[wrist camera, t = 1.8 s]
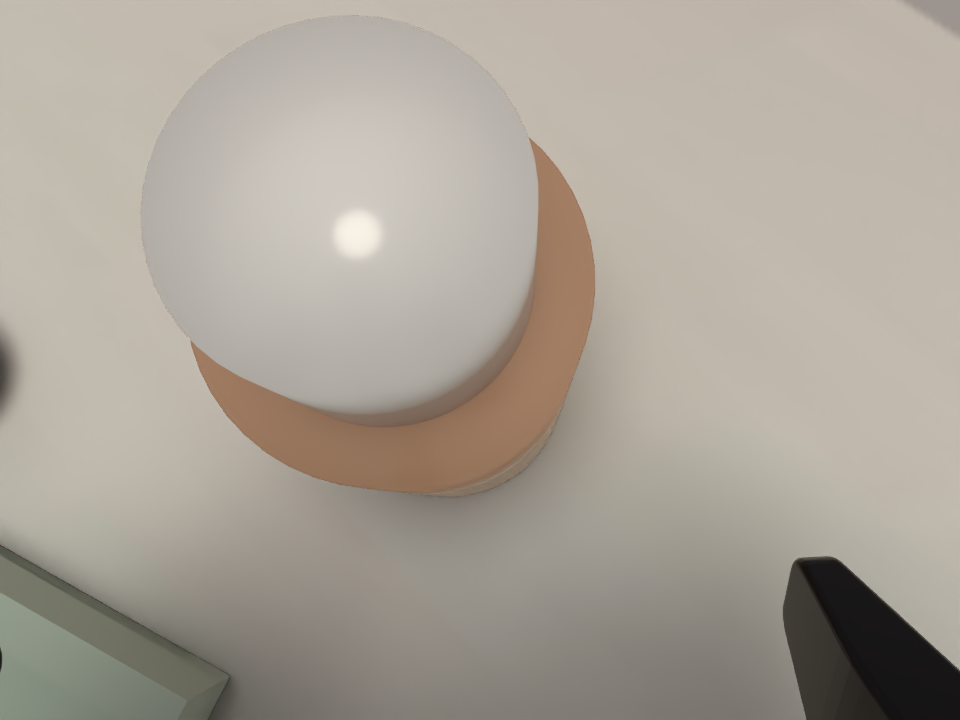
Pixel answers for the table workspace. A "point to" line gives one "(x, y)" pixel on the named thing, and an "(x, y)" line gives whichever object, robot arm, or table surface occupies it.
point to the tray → (89, 657)
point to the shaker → (370, 257)
